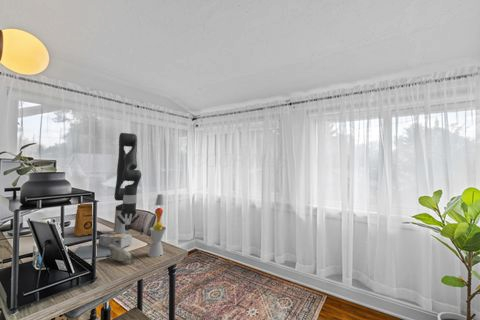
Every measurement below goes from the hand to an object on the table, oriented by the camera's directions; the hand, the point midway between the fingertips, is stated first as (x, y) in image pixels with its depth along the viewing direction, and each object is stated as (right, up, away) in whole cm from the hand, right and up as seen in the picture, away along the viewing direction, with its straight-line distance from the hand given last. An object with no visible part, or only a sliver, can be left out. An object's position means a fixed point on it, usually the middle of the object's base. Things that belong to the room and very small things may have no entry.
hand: (127, 230), depth 131 cm
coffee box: (-1, -7, +1) cm, 7 cm away
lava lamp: (+20, -12, -6) cm, 24 cm away
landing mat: (-13, -10, -7) cm, 18 cm away
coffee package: (-40, -10, +20) cm, 46 cm away
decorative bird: (+5, -11, -17) cm, 21 cm away
